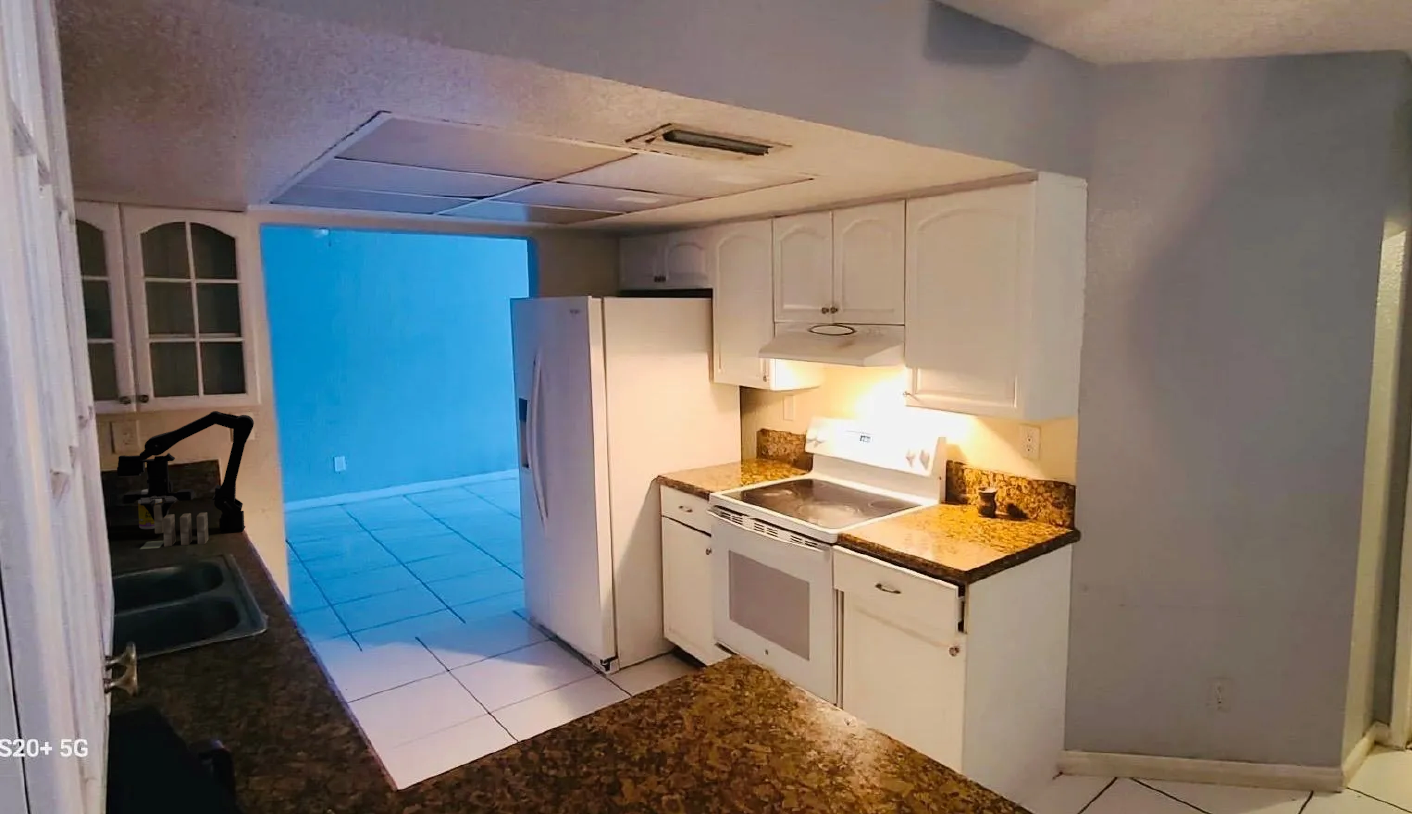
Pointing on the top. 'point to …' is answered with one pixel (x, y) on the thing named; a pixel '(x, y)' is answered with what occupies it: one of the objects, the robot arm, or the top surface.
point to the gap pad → (152, 545)
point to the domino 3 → (202, 528)
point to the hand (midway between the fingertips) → (160, 522)
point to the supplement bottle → (146, 514)
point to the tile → (158, 517)
